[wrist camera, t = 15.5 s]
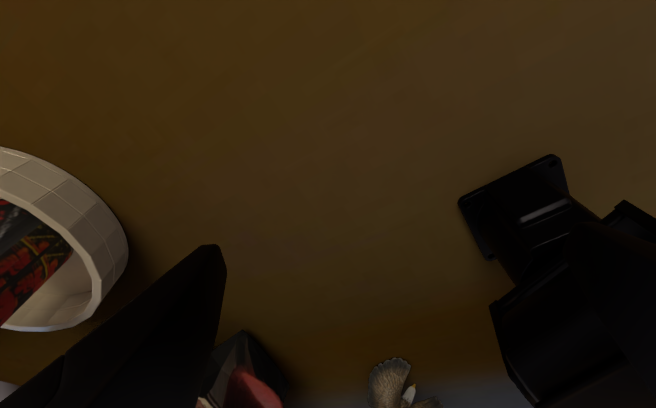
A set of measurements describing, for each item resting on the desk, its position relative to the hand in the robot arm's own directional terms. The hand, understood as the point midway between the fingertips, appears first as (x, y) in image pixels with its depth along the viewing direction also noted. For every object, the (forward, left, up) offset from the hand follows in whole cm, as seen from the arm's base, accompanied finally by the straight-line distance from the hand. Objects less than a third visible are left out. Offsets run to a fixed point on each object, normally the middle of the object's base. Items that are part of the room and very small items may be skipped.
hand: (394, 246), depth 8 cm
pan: (+5, +24, -12) cm, 27 cm away
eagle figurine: (-28, +11, -12) cm, 32 cm away
